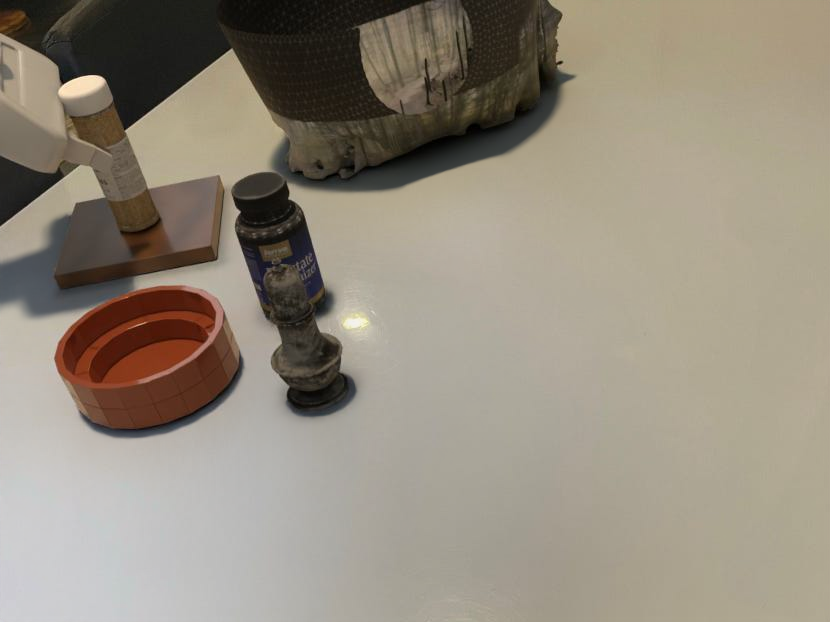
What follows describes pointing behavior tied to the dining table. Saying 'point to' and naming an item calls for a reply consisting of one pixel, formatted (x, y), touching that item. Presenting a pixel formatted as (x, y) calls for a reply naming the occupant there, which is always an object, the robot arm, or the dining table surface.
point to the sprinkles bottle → (102, 125)
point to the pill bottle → (274, 234)
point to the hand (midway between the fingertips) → (107, 144)
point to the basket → (388, 71)
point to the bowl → (148, 356)
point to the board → (142, 235)
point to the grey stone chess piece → (302, 343)
